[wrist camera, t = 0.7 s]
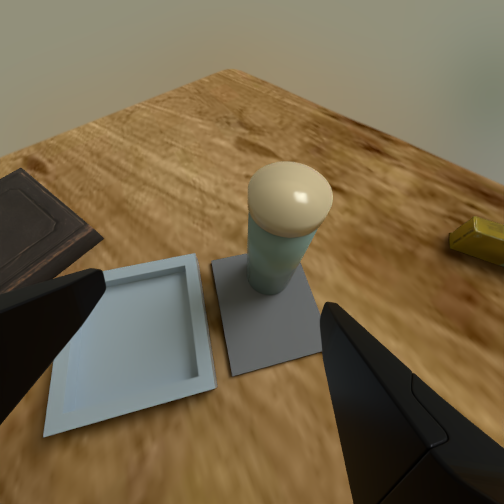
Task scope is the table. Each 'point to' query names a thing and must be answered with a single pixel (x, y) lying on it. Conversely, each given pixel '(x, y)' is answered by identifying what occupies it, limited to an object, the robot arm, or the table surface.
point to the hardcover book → (37, 233)
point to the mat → (265, 318)
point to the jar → (282, 221)
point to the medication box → (480, 240)
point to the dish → (135, 347)
